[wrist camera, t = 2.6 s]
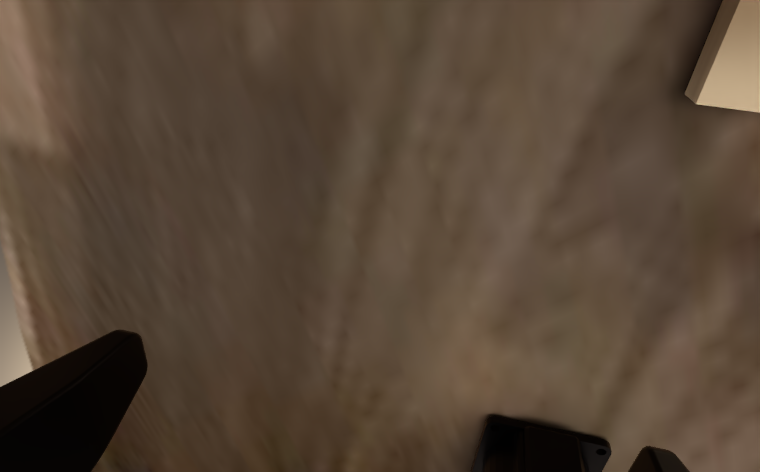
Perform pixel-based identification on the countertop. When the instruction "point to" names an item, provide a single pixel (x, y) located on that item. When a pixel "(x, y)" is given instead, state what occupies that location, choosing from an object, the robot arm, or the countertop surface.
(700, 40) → the countertop surface
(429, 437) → the countertop surface
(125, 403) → the robot arm
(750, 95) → the birch board
